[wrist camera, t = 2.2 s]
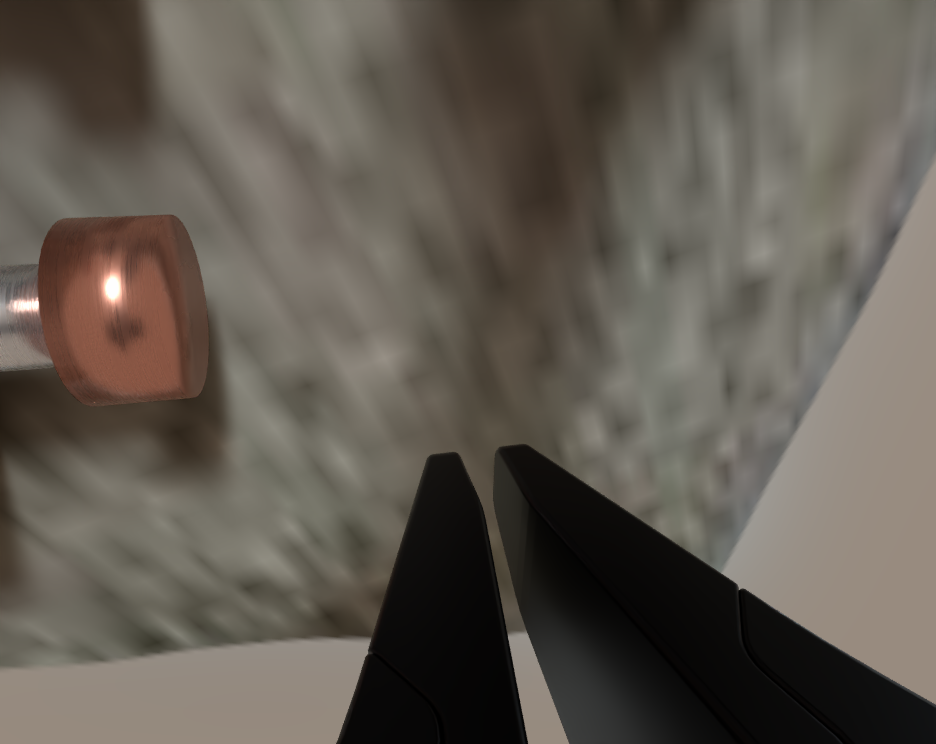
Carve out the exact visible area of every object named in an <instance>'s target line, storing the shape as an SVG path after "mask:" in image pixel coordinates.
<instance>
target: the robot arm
mask: <svg viewBox="0 0 936 744" xmlns="http://www.w3.org/2000/svg"><path fill="white" fill-rule="evenodd" d="M493 502H494V509H495V514H496V518H497V522H498V526H499V530H500V534H501V538H502V542H503V546H504V550H505V554H506V558H507V562H508V566H509V570H510V574H511V579H512V583H513V587H514V591H515V595H516V598H517V602H518V606H519V609H520V613H521V616H522V619H523V622H524V624H525V627H526V630H527V633H528V635H529V638H530V640H531V643H532V646H533V648H534V651H535V654H536V656H537V659H538V662H539V665H540V667H541V670H542V672H543V675H544V678H545V680H546V683H547V686H548V688H549V691H550V694H551V696H552V699H553V701H554V704H555V707H556V709H557V712H558V715H559V718H560V720H561V723H562V725H563V728H564V731H565V733H566V736H567V739H568V741H569V744H936V705H935V704H934V703H932V702H930V701H928V700H927V699H925V698H923V697H921V696H920V695H918V694H916V693H914V692H912V691H911V690H909V689H907V688H905V687H904V686H902V685H900V684H898V683H897V682H895V681H893V680H891V679H890V678H888V677H886V676H884V675H883V674H881V673H879V672H877V671H876V670H874V669H872V668H871V667H869V666H867V665H866V664H864V663H862V662H860V661H859V660H857V659H855V658H854V657H852V656H850V655H849V654H847V653H845V652H843V651H842V650H840V649H838V648H837V647H835V646H833V645H832V644H829V643H828V642H826V641H825V640H823V639H822V638H820V637H818V636H817V635H815V634H814V633H812V632H810V631H809V630H807V629H806V628H804V627H803V626H801V625H800V624H798V623H796V622H795V621H793V620H792V619H790V618H788V617H787V616H785V615H784V614H782V613H780V612H779V611H778V610H775V609H774V608H773V607H771V606H770V605H768V604H767V603H765V602H764V601H762V600H761V599H759V598H758V597H756V596H755V595H753V594H752V593H750V592H749V591H747V590H746V589H740V590H739V587H738V585H737V584H736V583H735V582H733V581H732V580H730V579H729V578H727V577H726V576H724V575H723V574H721V573H720V572H718V571H717V570H715V569H714V568H712V567H711V566H709V565H708V564H706V563H705V562H703V561H702V560H700V559H699V558H697V557H696V556H694V555H693V554H691V553H690V552H688V551H687V550H685V549H684V548H682V547H681V546H679V545H678V544H676V543H675V542H673V541H672V540H670V539H669V538H667V537H666V536H664V535H663V534H661V533H660V532H658V531H656V530H655V529H653V528H652V527H650V526H649V525H647V524H646V523H644V522H643V521H641V520H640V519H638V518H637V517H635V516H634V515H632V514H631V513H629V512H628V511H626V510H625V509H623V508H622V507H620V506H619V505H617V504H616V503H614V502H613V501H611V500H610V499H608V498H607V497H605V496H604V495H602V494H601V493H599V492H598V491H596V490H595V489H593V488H592V487H590V486H589V485H587V484H586V483H584V482H583V481H581V480H580V479H578V478H577V477H575V476H574V475H572V474H571V473H569V472H568V471H566V470H565V469H563V468H562V467H560V466H559V465H557V464H556V463H554V462H553V461H551V460H550V459H548V458H547V457H545V456H544V455H542V454H540V453H539V452H537V451H536V450H534V449H533V448H531V447H530V446H528V445H526V444H519V445H510V446H502V447H499V448H498V449H497V451H496V453H495V463H494V485H493ZM336 744H528V741H527V735H526V731H525V725H524V719H523V715H522V709H521V704H520V699H519V693H518V688H517V683H516V677H515V672H514V667H513V661H512V656H511V651H510V646H509V640H508V635H507V630H506V624H505V619H504V614H503V609H502V603H501V598H500V593H499V587H498V582H497V577H496V572H495V566H494V561H493V556H492V550H491V545H490V540H489V535H488V529H487V524H486V519H485V515H484V511H483V507H482V505H481V502H480V500H479V497H478V495H477V493H476V491H475V488H474V486H473V484H472V482H471V479H470V477H469V475H468V473H467V470H466V468H465V466H464V464H463V461H462V459H461V457H460V455H459V454H458V453H456V452H449V453H440V454H432V455H430V456H429V457H428V458H427V460H426V464H425V467H424V470H423V473H422V477H421V480H420V483H419V486H418V490H417V493H416V496H415V499H414V503H413V506H412V509H411V512H410V516H409V519H408V522H407V525H406V529H405V532H404V535H403V538H402V542H401V545H400V548H399V551H398V555H397V558H396V561H395V564H394V568H393V571H392V574H391V577H390V581H389V584H388V587H387V590H386V594H385V597H384V600H383V603H382V607H381V610H380V613H379V616H378V620H377V623H376V626H375V629H374V633H373V636H372V639H371V642H370V646H369V649H368V655H367V656H366V657H365V660H364V664H363V667H362V670H361V673H360V677H359V680H358V683H357V686H356V689H355V692H354V695H353V698H352V701H351V704H350V706H349V709H348V712H347V715H346V718H345V721H344V724H343V727H342V730H341V732H340V736H339V738H338V741H337V743H336Z"/></svg>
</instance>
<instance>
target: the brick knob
mask: <svg viewBox="0 0 936 744" xmlns="http://www.w3.org/2000/svg"><path fill="white" fill-rule="evenodd" d="M208 358H209V329H208V316H207V306H206V298H205V292H204V286H203V281H202V276H201V272H200V267H199V263H198V260H197V256H196V253H195V250H194V247H193V244H192V241H191V239H190V237H189V234H188V232H187V230H186V228H185V227H184V225H183V223H182V222H181V221H180V220H179V218H177V217H176V216H174V215H148V216H118V217H88V218H65V219H61V220H59V221H57V222H56V223H55V224H54V225H53V226H52V227H51V229H50V230H49V231H48V233H47V235H46V237H45V240H44V243H43V246H42V249H41V254H40V259H39V264H26V265H4V266H0V372H4V371H17V370H31V369H44V368H55V369H56V371H57V373H58V375H59V377H60V378H61V380H62V382H63V383H64V385H65V387H66V388H67V389H68V390H69V392H70V393H71V394H72V395H73V396H74V397H75V398H76V399H77V400H78V401H80V402H81V403H83V404H85V405H88V406H94V407H95V406H106V405H117V404H129V403H140V402H151V401H163V400H174V399H185V398H194V397H197V396H198V395H199V394H200V393H201V391H202V389H203V387H204V384H205V380H206V375H207V369H208Z"/></svg>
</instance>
